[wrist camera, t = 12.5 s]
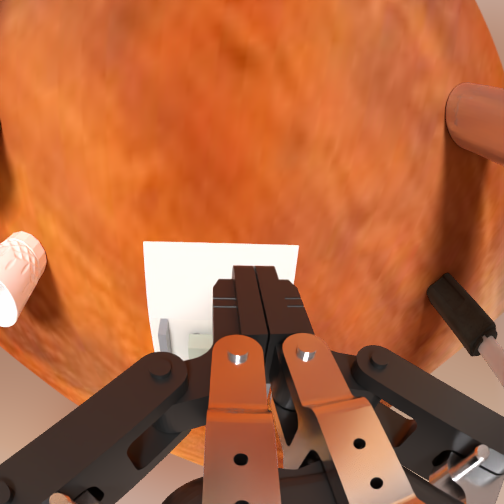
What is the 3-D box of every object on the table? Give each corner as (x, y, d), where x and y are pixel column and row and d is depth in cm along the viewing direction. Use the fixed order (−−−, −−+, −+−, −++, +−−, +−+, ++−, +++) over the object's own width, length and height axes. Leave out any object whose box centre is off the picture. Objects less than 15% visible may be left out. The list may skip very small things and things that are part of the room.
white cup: (-4, 238, 31) (-44, 279, 22) (31, 217, 31) (-12, 259, 22) (24, 284, 35) (-7, 332, 26) (61, 269, 35) (29, 320, 26)
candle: (432, 306, 45) (511, 420, 24) (424, 289, 43) (513, 411, 22) (454, 288, 44) (539, 395, 23) (448, 270, 42) (544, 383, 20)
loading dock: (296, 241, 37) (308, 265, 33) (270, 374, 50) (275, 400, 45) (144, 237, 35) (135, 262, 30) (162, 374, 47) (160, 401, 42)
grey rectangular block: (250, 329, 40) (253, 348, 37) (244, 375, 45) (246, 393, 42) (189, 328, 39) (188, 348, 36) (191, 375, 44) (191, 393, 41)
